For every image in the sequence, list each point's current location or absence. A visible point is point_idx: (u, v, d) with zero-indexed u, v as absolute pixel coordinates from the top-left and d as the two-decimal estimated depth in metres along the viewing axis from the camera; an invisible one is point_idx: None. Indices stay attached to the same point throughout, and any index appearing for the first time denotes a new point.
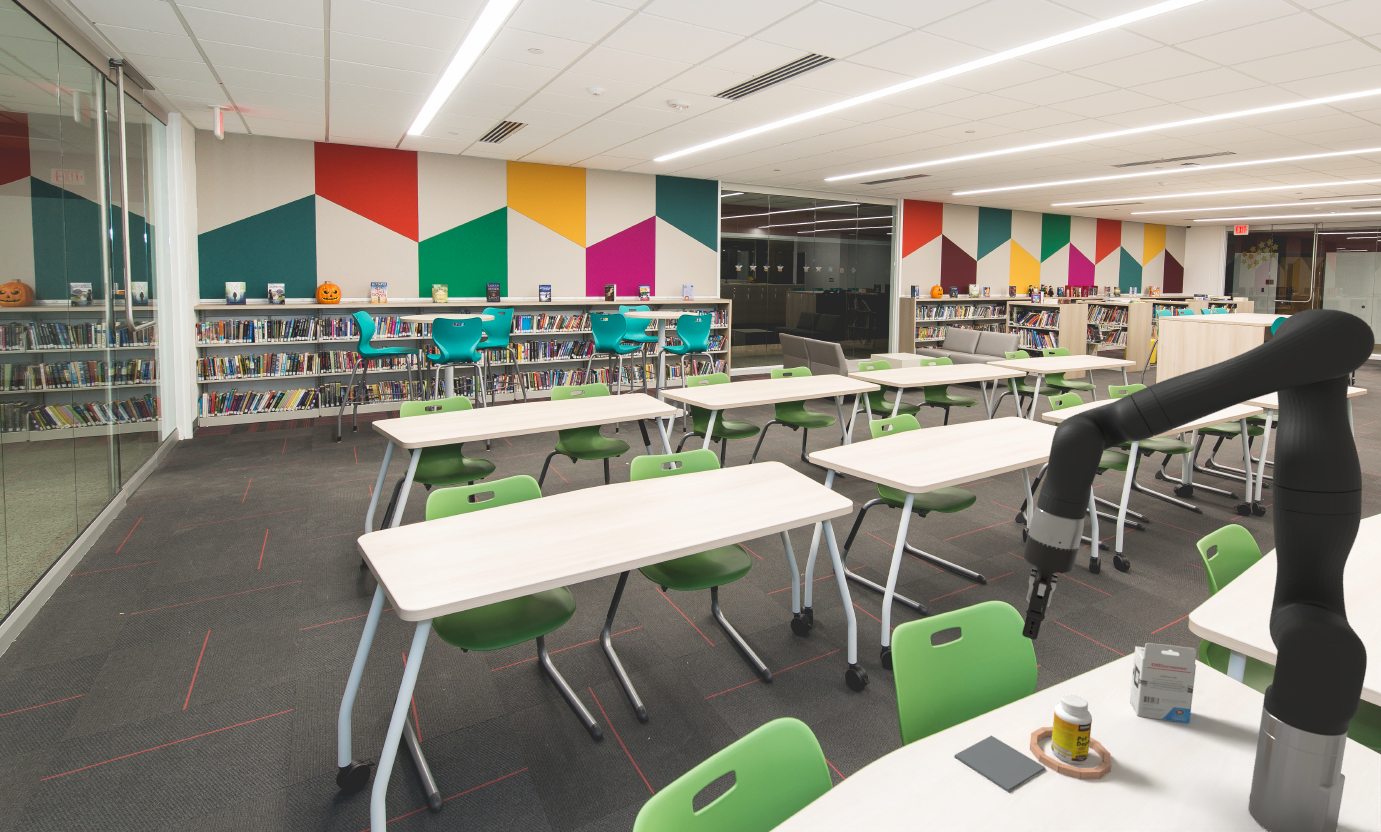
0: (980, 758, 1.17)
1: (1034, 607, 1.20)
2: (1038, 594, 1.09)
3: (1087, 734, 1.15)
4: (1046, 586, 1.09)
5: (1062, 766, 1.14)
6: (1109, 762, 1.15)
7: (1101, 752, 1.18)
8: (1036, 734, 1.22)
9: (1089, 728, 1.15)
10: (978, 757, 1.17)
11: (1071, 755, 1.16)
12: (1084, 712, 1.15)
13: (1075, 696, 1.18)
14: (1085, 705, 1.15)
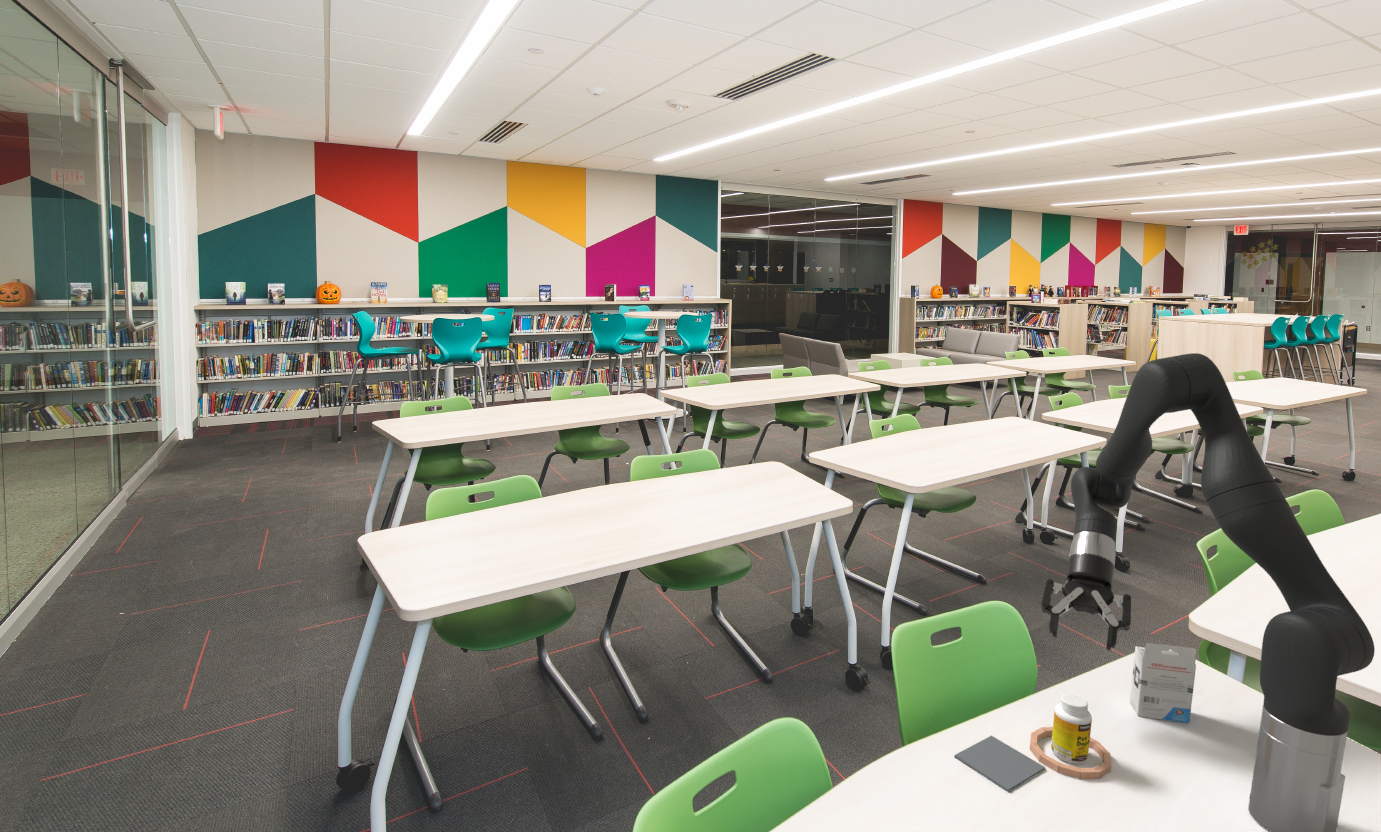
0: (980, 758, 1.17)
1: (1107, 638, 1.24)
2: None
3: (1087, 734, 1.15)
4: None
5: (1062, 766, 1.14)
6: (1109, 762, 1.15)
7: (1101, 752, 1.18)
8: (1036, 734, 1.22)
9: (1089, 728, 1.15)
10: (978, 757, 1.17)
11: (1071, 755, 1.16)
12: (1084, 712, 1.15)
13: (1075, 696, 1.18)
14: (1085, 705, 1.15)
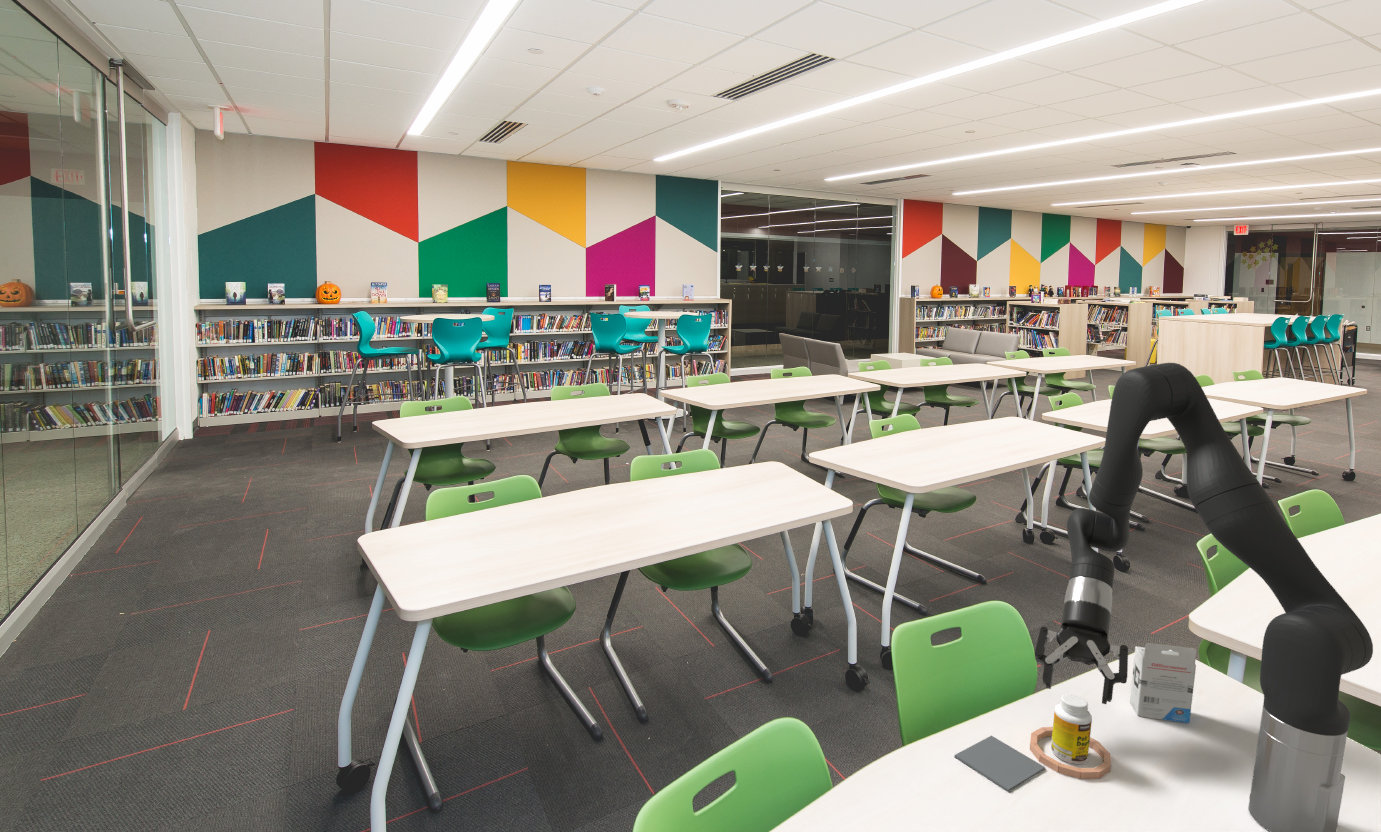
0: (980, 758, 1.17)
1: None
2: None
3: (1087, 734, 1.15)
4: None
5: (1062, 766, 1.14)
6: (1109, 762, 1.15)
7: (1101, 752, 1.18)
8: (1036, 734, 1.22)
9: (1089, 728, 1.15)
10: (978, 757, 1.17)
11: (1071, 755, 1.16)
12: (1084, 712, 1.15)
13: (1075, 696, 1.18)
14: (1085, 705, 1.15)
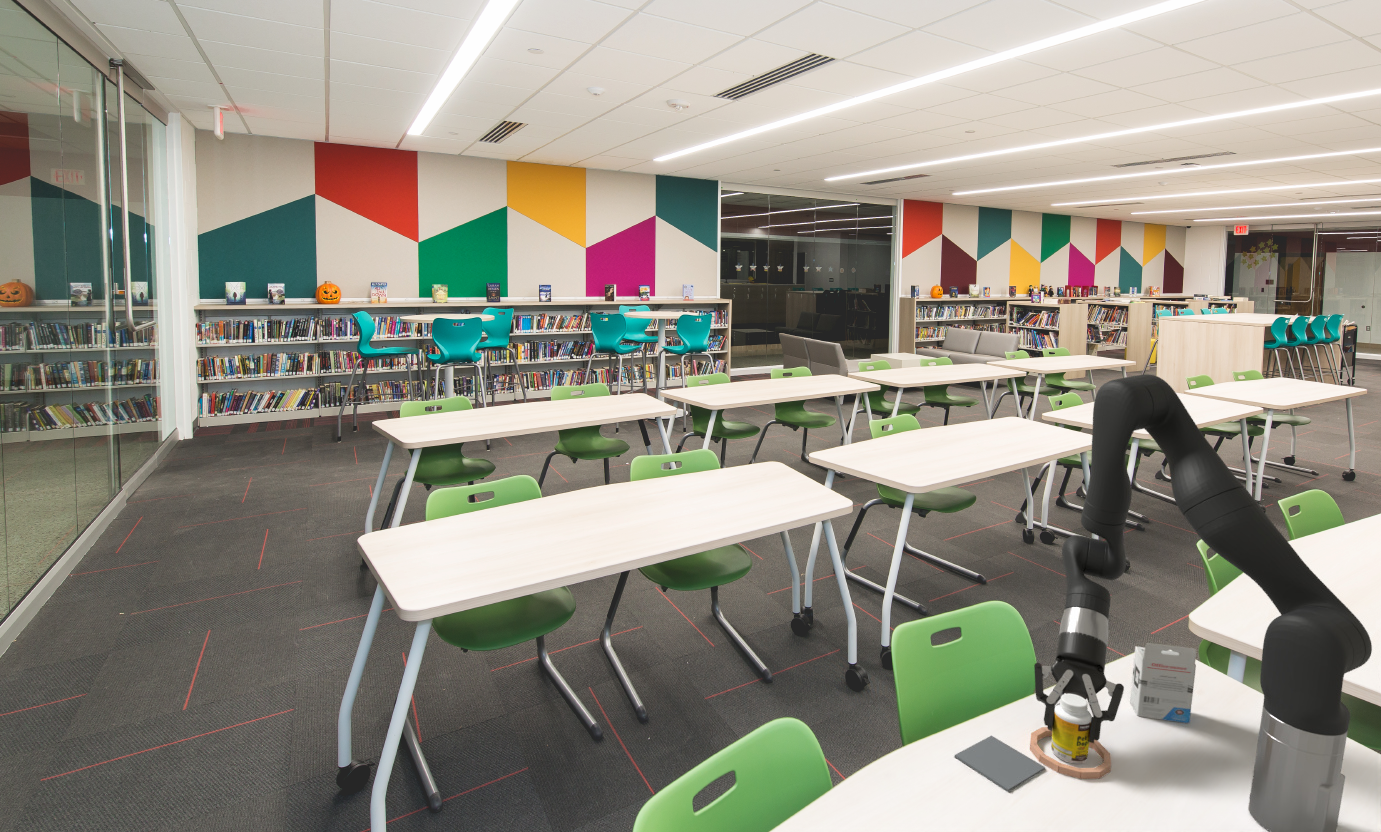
0: (980, 758, 1.17)
1: None
2: None
3: (1087, 734, 1.15)
4: None
5: (1062, 766, 1.14)
6: (1109, 762, 1.15)
7: (1101, 752, 1.18)
8: (1036, 734, 1.22)
9: (1089, 728, 1.15)
10: (978, 757, 1.17)
11: (1071, 755, 1.16)
12: (1084, 712, 1.15)
13: (1074, 696, 1.18)
14: (1085, 705, 1.15)
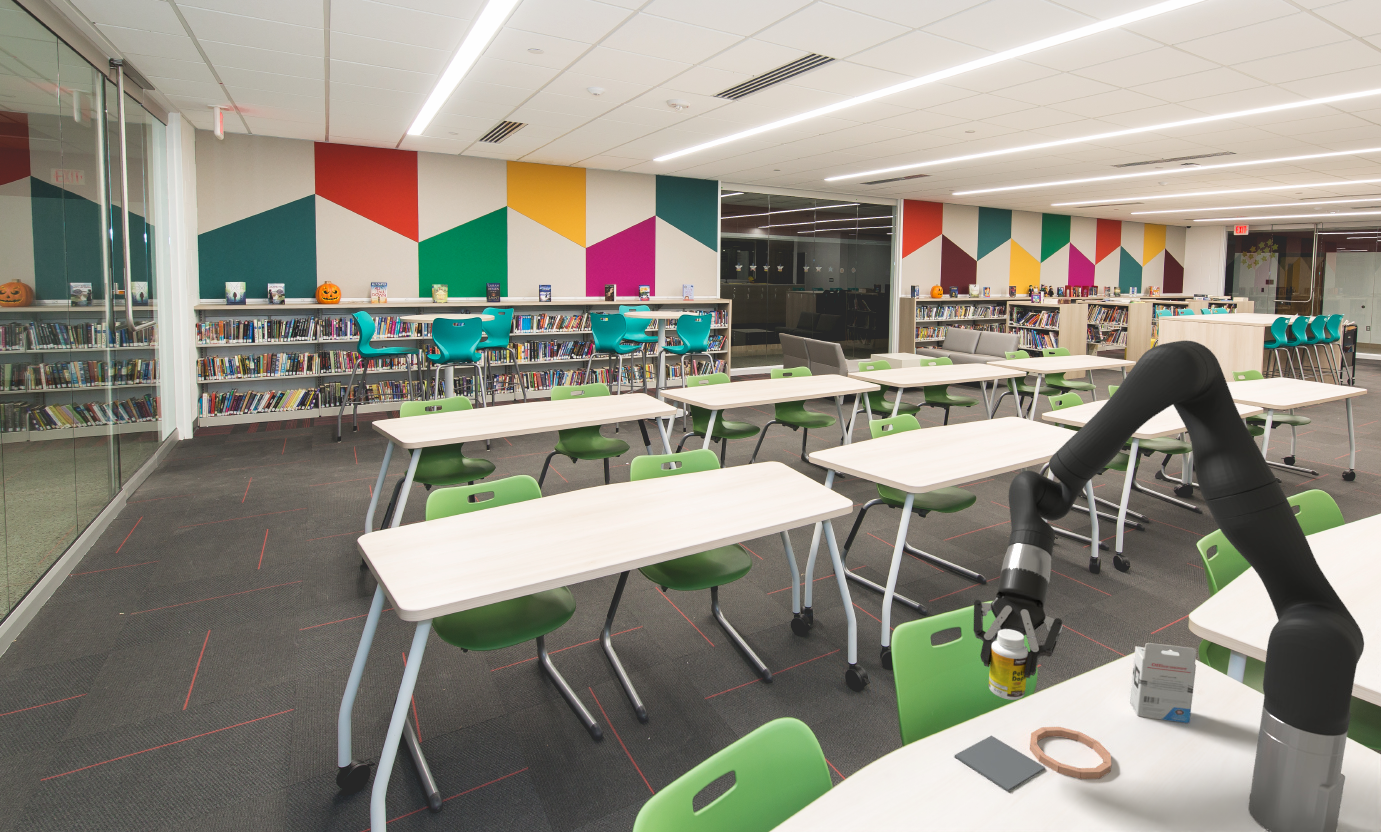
0: (980, 758, 1.17)
1: None
2: None
3: (1023, 669, 1.12)
4: None
5: (1062, 766, 1.14)
6: (1109, 762, 1.15)
7: (1101, 752, 1.18)
8: (1036, 734, 1.22)
9: (1025, 663, 1.12)
10: (978, 757, 1.17)
11: (1007, 690, 1.12)
12: (1020, 646, 1.12)
13: (1012, 631, 1.14)
14: (1021, 639, 1.12)
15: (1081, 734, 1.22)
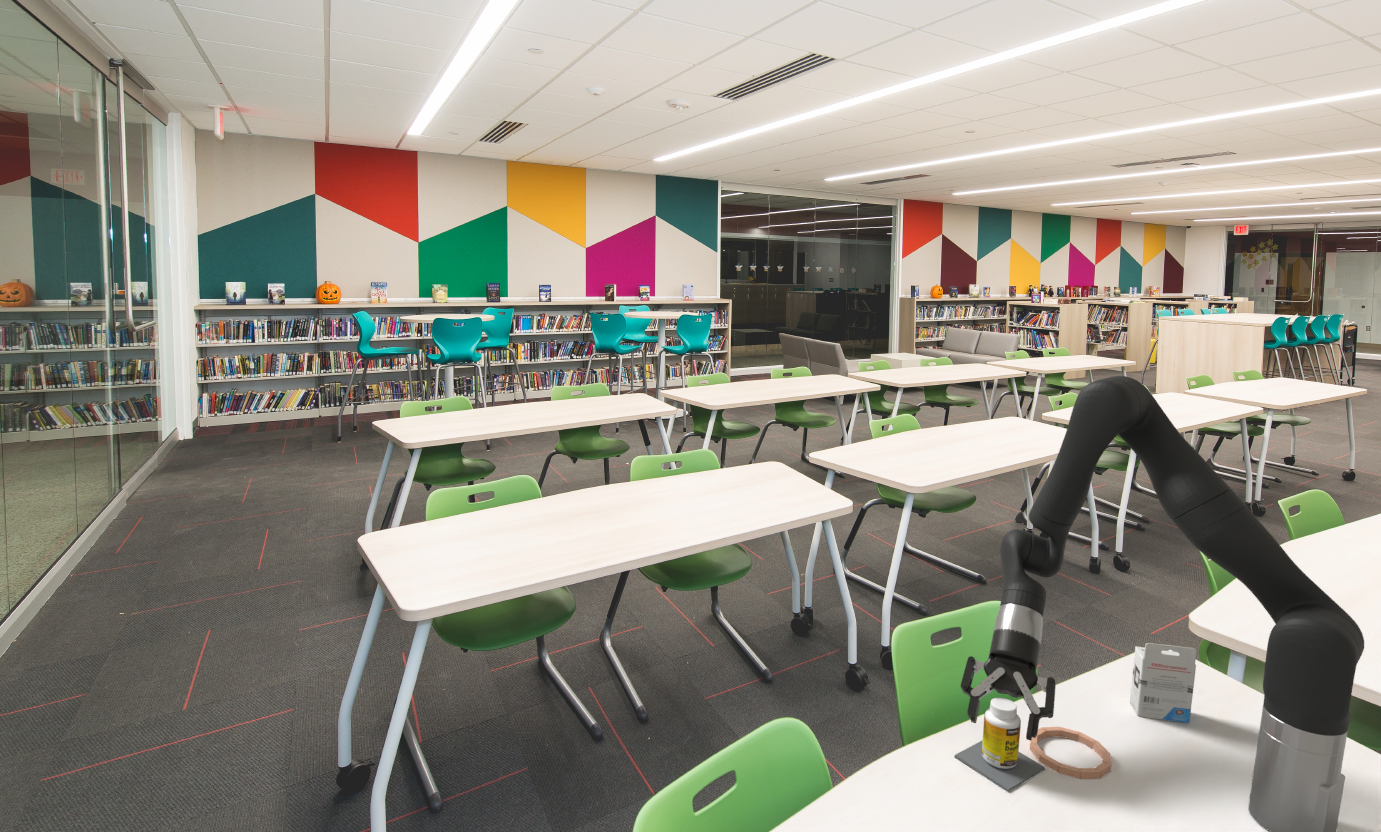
0: (980, 758, 1.17)
1: None
2: None
3: (1016, 739, 1.13)
4: None
5: (1062, 766, 1.14)
6: (1109, 762, 1.15)
7: (1101, 752, 1.18)
8: None
9: (1017, 732, 1.13)
10: (978, 757, 1.17)
11: (999, 760, 1.14)
12: (1013, 716, 1.14)
13: (1004, 700, 1.16)
14: (1013, 709, 1.14)
15: (1081, 734, 1.22)
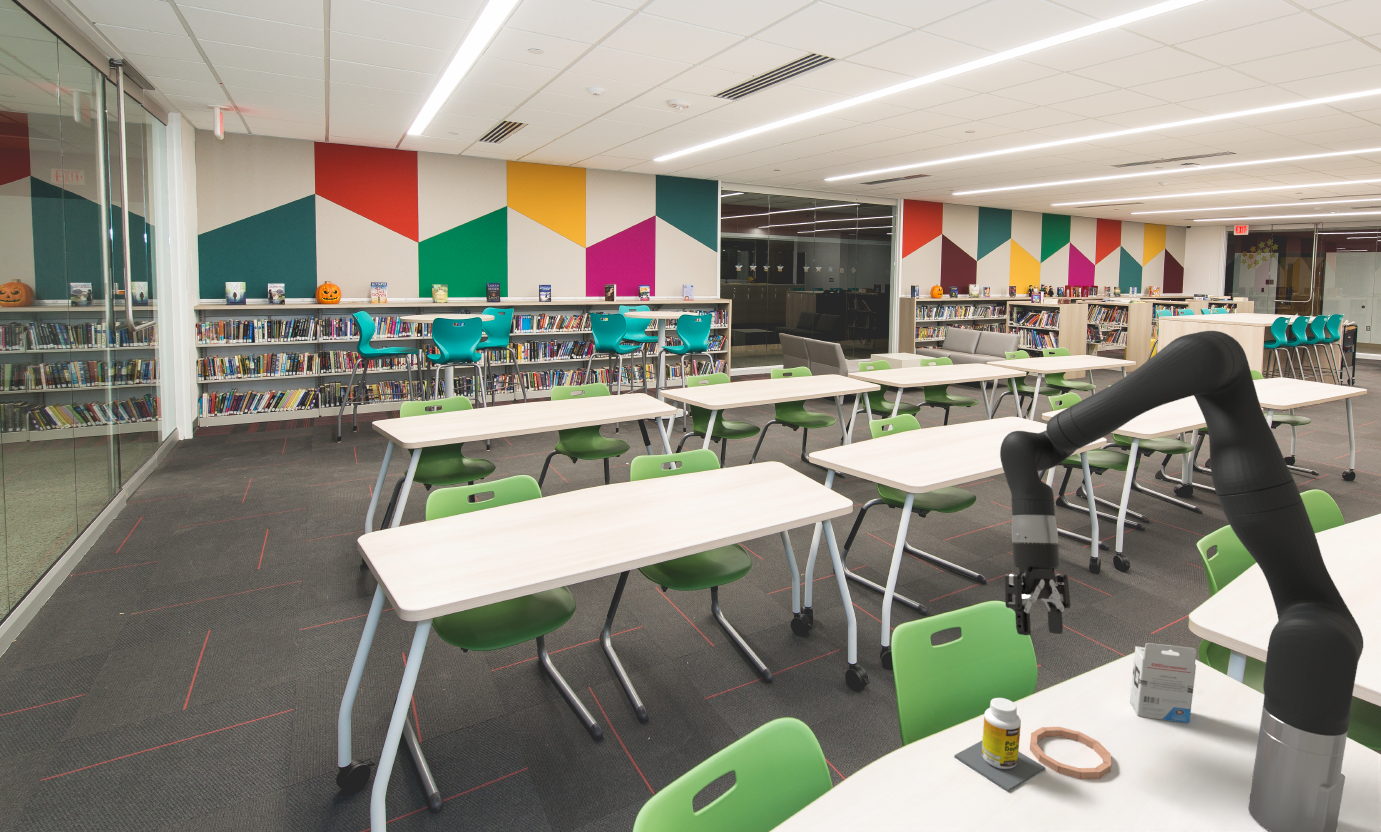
0: (980, 758, 1.17)
1: (1053, 622, 1.25)
2: (1010, 583, 1.22)
3: (1016, 739, 1.13)
4: (1014, 575, 1.22)
5: (1062, 766, 1.14)
6: (1109, 762, 1.15)
7: (1101, 752, 1.18)
8: (1036, 734, 1.22)
9: (1017, 733, 1.13)
10: (978, 757, 1.17)
11: (999, 760, 1.14)
12: (1013, 716, 1.13)
13: (1004, 700, 1.16)
14: (1013, 709, 1.14)
15: (1081, 734, 1.22)
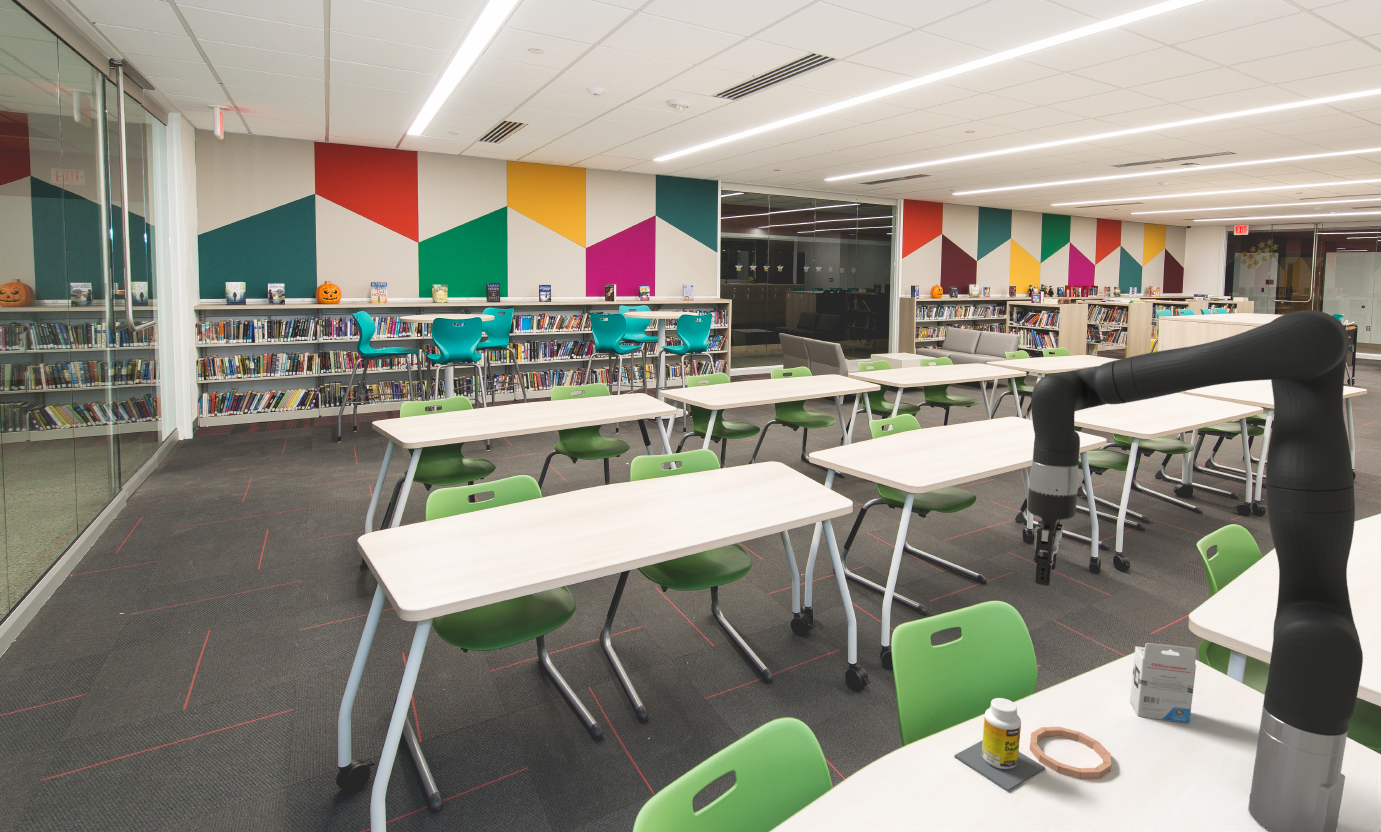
0: (980, 758, 1.17)
1: None
2: (1042, 540, 1.17)
3: (1016, 740, 1.13)
4: (1048, 532, 1.16)
5: (1062, 766, 1.14)
6: (1109, 762, 1.15)
7: (1101, 752, 1.18)
8: (1036, 734, 1.22)
9: (1018, 733, 1.13)
10: (978, 757, 1.17)
11: (999, 760, 1.14)
12: (1013, 717, 1.13)
13: (1005, 700, 1.16)
14: (1014, 710, 1.13)
15: (1081, 734, 1.22)
